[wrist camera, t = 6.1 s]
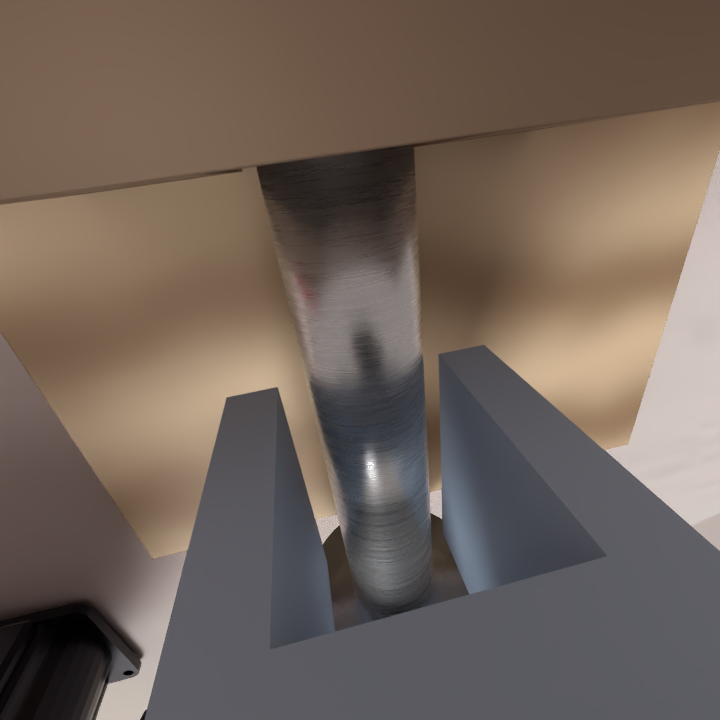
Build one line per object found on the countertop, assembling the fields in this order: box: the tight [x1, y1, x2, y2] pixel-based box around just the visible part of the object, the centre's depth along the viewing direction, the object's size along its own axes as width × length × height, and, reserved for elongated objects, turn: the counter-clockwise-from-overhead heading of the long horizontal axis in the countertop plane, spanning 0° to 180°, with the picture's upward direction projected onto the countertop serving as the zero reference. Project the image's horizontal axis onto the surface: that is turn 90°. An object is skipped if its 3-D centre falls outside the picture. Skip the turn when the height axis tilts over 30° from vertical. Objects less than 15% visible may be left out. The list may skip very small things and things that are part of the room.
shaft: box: [256, 144, 469, 632], centre depth 10 cm, size 17×6×6 cm, turn 7°
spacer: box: [145, 345, 720, 720], centre depth 7 cm, size 7×6×7 cm
